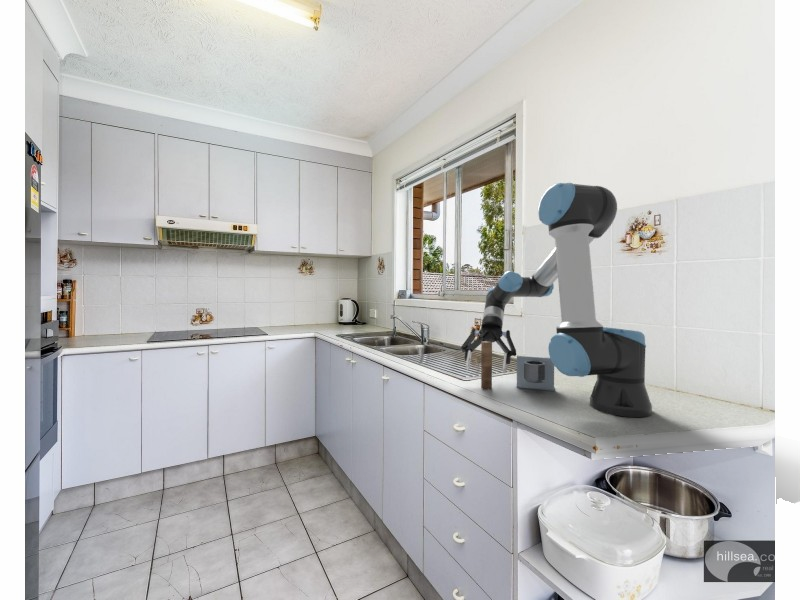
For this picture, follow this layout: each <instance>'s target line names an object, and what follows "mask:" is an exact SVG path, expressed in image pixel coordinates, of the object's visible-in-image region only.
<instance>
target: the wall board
mask: <svg viewBox="0 0 800 600" xmlns="http://www.w3.org/2000/svg"><path fill="white" fill-rule="evenodd" d="M532 360H538V361H540V362H544V363H545V382H542V383H533V382H528V381H525V380H524V361H532ZM516 388H520V389H530V390H532V389H533V390H539V391H540V390H542V391H552V392H554V391H555V366H554V365H553V363H552V361H551V359H550V356H549V357H548V356H532V355H531V356H529V355H517V354H516Z"/></svg>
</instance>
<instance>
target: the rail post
mask: <svg viewBox="0 0 800 600" xmlns="http://www.w3.org/2000/svg"><path fill="white" fill-rule="evenodd" d="M480 346H481V348H480V349H481V352H480V354H481V356H480V357H481V358H480V360H481V361H480V362H481V363H480V365H481V366H480V367H481V369H480V373H481V374H480V375H481V376H480V379H481V380H480V387H481V389H482V388H483V389H484V390H492V388H493V342H489V341H483V342H481V344H480ZM483 389H482V390H483Z"/></svg>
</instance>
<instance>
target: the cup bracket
mask: <svg viewBox="0 0 800 600" xmlns="http://www.w3.org/2000/svg"><path fill="white" fill-rule="evenodd" d="M524 380H525V381H528V382H533V383H542V382H545V363H544V362H540V361H538V360H532V361H524Z"/></svg>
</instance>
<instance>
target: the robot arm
mask: <svg viewBox="0 0 800 600" xmlns="http://www.w3.org/2000/svg"><path fill="white" fill-rule="evenodd" d="M537 210H538V211H537V213H538V214H537V215H538V219H539V221H540V222H541V223H542V224H543V225H545V226H547V227H548V228H547V229H548V236H551V238H553V239H554V242H555V243H554V244H555V247H554V249H553V250H552V251H551V252H550V253H549V254H548V256H547V257H546V258H545V259H544V261H543V262H542V263H541V265H539V266H538V268H537V269H536V270H535V272H534V273H533V274H532V275H531V276H521V274H520V273H518V272H514V270H508V271H506V272H504V273H503V274H502V276H501V277H500V278H499V279H498V281H497V283H496V284H495V286H493V287H491V288H489V289H488V290H487V293H486V295H485V304H484V310H483V315H482V320H481V321H482V322H481V327H480V329H479V330H476V329H475V328H472V329H471V333H470V334H468V335H469V336H468V337H467V338H466V340H465V341H464V342H463V344H462V345H461V347H460V348H461V352H462V353H464V361H465V368H466V371H470V367H471V366H470V365H471V361H472V353H473V351H475V350H476V349H477V348H478V347H479V346H481V342H483V341H489V342H492V343H496V344H497V345H498V346H499V347H500V348H501V350H502V351H503V352H504V354H503V361H502V374H506V373H507V365H510V364H511V358H512V357H515V356H516V357H517V349H516V347H515V345H514V343H513V340H512V338H511V331H510V330H509V329H507V330H505V331H503V325H504V324H503V322H504V316H505V309H506V305H507V304H508V303H509V302H510V301H511V300H512V298H534V297H535V298H543V297H549V296H550V295H551V294H553V290H554V283H555V282H556V281H557V280H558V292H559V303H560V304H559V307H560V318H561V321H560V323H559V324H558V325H556V328H555V330H556V334H554V335H553V336H551V338H550V341H549V343H548V349H547V350H548V354H549V358H550V359H551V361H552V363H553V365H554V368H556V369H557V371H558V372H560V373H561V374H563V375H565V376H567V377H579V378H584V377H586V376H596V382H595V383H594V386H593V389H592V392H591V394H590V397H589V406H590V407H591V408H593V409H594V410H597V411H599V412H602V413H605V414H610V415H614V416H619V417H627V418H646V417H649V416H651V415H652V414H653V404H652V402H651V399H650V397H649V393H648V391H647V388H646V385H645V384H646V383H645V381H646V380H645V379H646V378H645V377H646V348H647V345H646V335H645V334H644V333H643V332H641V331H639V330H632V329H625V328H624V329H621V328H615V327H608V326H607V327H605V326H604V325H603V324H602V323H600V322H599V321H598V320H597V317H596V306H595V295H594V293H595V292H594V285H593V284H594V283H593V282H594V281H593V271H592V260H591V250H590V244H591V243H592V242H593V241H594V240H595V239H599V238H601V237H602V236H603V235H604V234H605V233H606V232H607V230H608V229H610V227H611V226H612V224H613V222H614V220H615V219H616V215H617V212H618V202H617V199H616V196H615V195H614V193H613V192H612V191H611V190H610V189H608V188H607V187H603V186H602V185H590V184H588V185H587V184H580V183H579V184H576V183H572V182H566V183H565V182H558V183H554V184H553V185H551V186H549V187H548V188H547V190H545V192H544V194H543V196H541V199H540V201H539V205H538V209H537ZM477 336H478V337H477ZM476 337H477V338H476ZM502 337H504V338H505V339H506V341H507V344H508V346H507V345H506V343H505V342H504V341H503V339H501V338H502ZM508 347H509V348H508Z"/></svg>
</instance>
